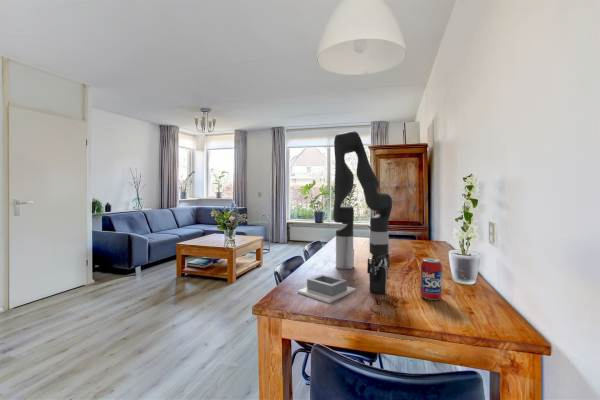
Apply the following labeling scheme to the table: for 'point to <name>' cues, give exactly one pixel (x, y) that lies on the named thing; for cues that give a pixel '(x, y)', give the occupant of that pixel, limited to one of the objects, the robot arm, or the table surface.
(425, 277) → the soda can
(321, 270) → the table surface
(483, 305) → the table surface
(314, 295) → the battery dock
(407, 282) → the table surface
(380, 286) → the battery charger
